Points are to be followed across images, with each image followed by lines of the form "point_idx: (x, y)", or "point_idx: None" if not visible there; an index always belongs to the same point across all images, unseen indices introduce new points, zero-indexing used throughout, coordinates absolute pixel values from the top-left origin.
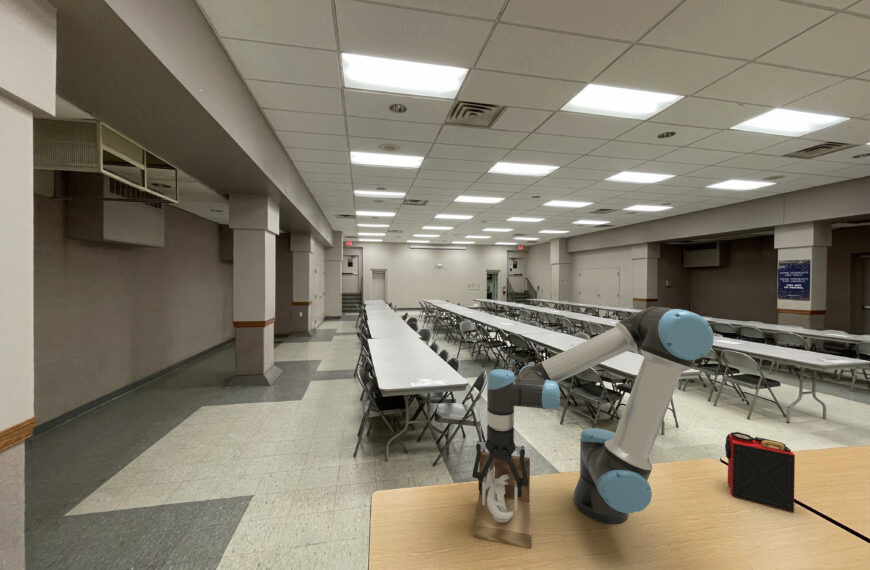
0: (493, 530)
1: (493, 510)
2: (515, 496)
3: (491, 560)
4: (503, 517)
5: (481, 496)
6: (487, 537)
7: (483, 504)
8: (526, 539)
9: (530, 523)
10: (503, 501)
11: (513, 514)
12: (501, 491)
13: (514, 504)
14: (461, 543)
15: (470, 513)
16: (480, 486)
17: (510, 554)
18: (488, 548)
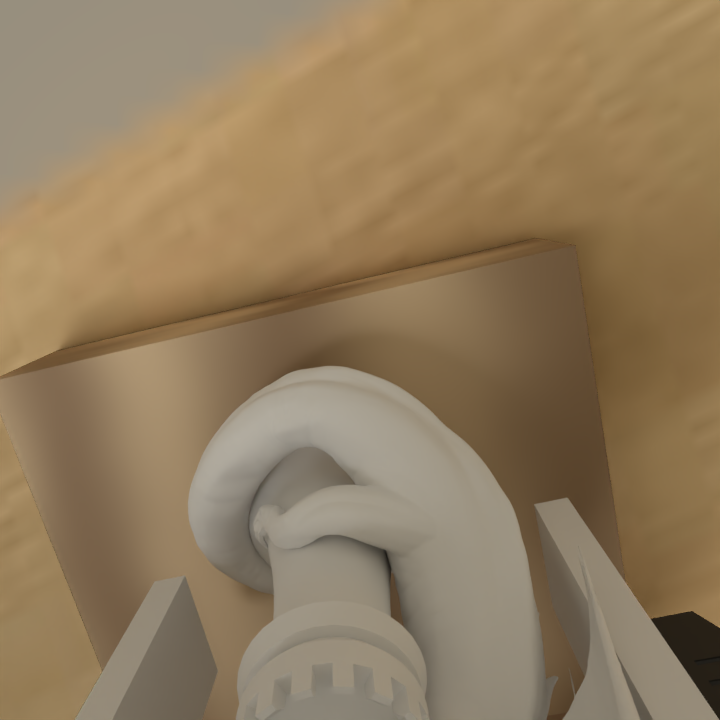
0: (363, 292)
1: (388, 407)
2: (106, 711)
3: (313, 53)
4: (256, 393)
5: None
6: (416, 267)
7: (553, 504)
8: (64, 358)
9: (48, 524)
10: (280, 577)
11: None
12: (274, 668)
13: (212, 659)
14: (624, 111)
15: (645, 497)
16: (716, 678)
17: (188, 202)
18: (378, 175)
